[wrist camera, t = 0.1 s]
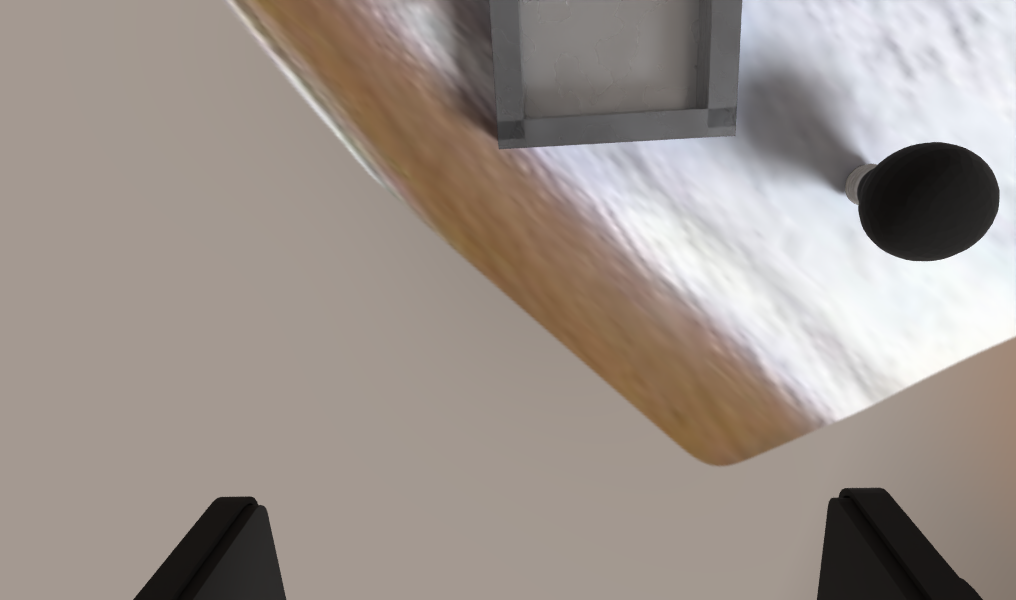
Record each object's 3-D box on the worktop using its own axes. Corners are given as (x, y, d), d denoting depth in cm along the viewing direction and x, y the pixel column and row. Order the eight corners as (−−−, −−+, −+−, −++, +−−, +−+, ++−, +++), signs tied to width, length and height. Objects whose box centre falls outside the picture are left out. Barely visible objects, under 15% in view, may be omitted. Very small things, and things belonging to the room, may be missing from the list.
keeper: (426, -101, 35) (397, -146, 28) (729, -129, 33) (774, -182, 27) (448, 147, 39) (427, 159, 32) (718, 131, 38) (754, 140, 31)
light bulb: (795, 219, 39) (874, 262, 30) (829, 123, 37) (924, 136, 28) (888, 238, 39) (996, 286, 30) (926, 143, 37) (1054, 162, 28)
